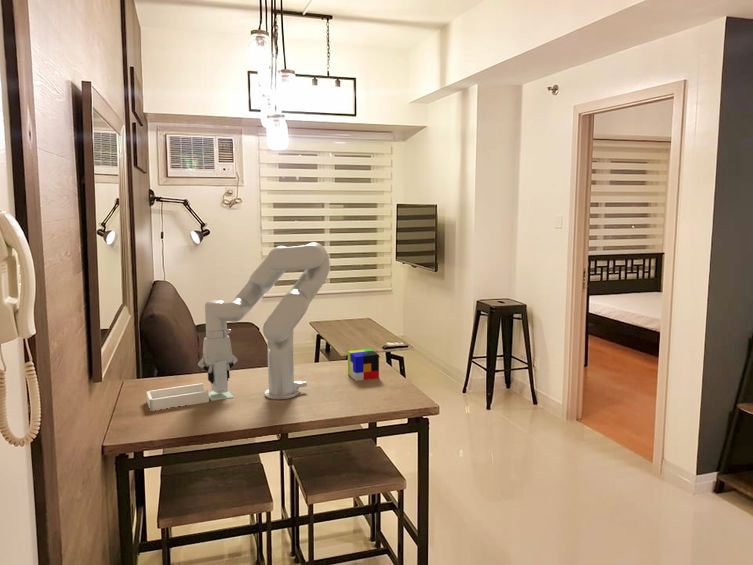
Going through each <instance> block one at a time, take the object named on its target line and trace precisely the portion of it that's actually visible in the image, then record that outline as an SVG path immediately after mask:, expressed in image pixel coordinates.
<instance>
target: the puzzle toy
mask: <svg viewBox="0 0 753 565" xmlns="http://www.w3.org/2000/svg"><path fill="white" fill-rule="evenodd" d="M379 363H380V354H379V353H377V352H376V351H374V350H373V349H371V348H366V349H357V350H356V349H355V350H348V351H347V375H348V376H349V377H351V378H352V379H353V380H354V382H358V381H368V380H374V379H380V369H379V368H380V364H379Z"/></svg>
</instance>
